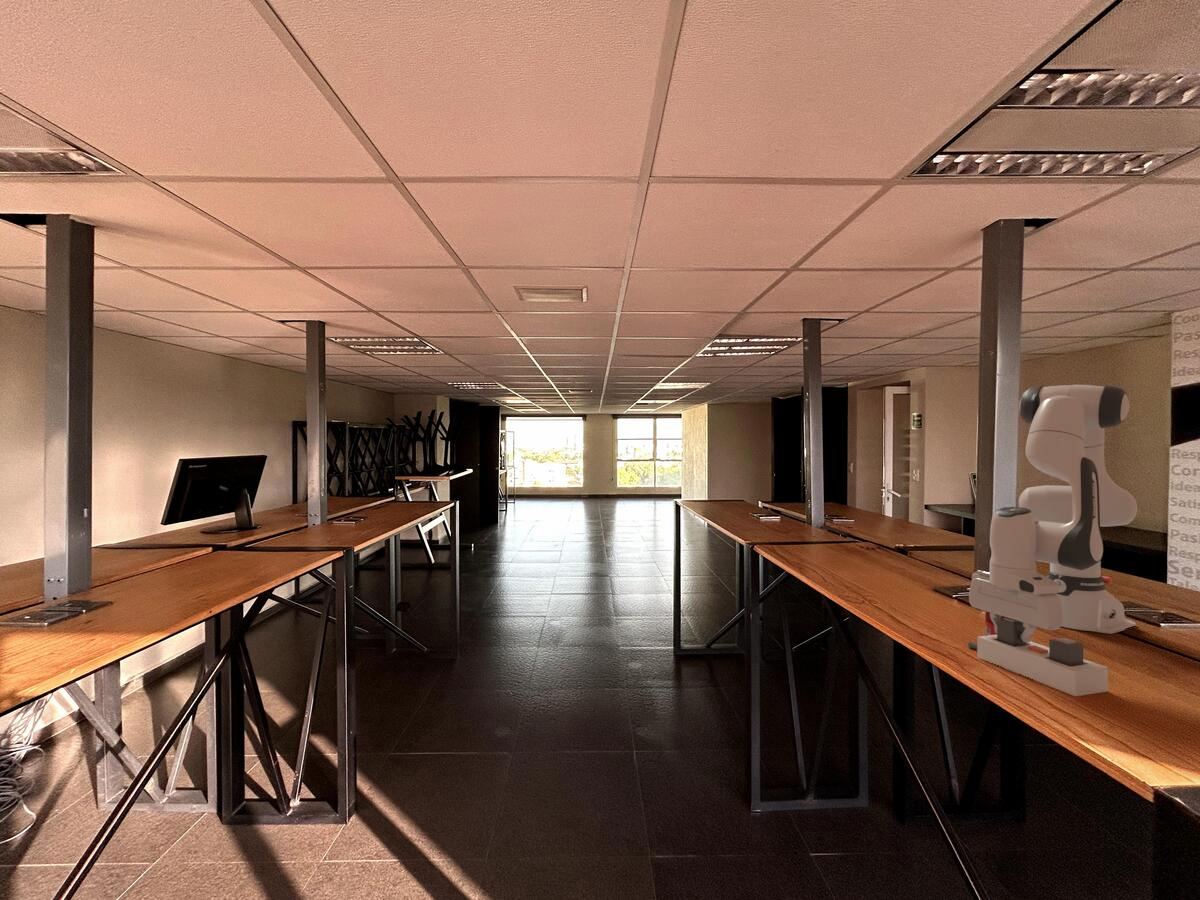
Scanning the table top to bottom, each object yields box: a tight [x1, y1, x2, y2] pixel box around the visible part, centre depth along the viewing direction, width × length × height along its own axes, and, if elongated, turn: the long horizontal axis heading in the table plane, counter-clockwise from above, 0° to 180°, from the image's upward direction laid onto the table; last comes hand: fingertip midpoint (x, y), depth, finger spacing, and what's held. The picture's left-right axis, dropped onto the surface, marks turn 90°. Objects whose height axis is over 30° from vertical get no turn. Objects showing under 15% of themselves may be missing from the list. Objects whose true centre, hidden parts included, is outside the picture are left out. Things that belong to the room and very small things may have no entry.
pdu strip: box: [967, 635, 1109, 697], centre depth 131 cm, size 9×28×9 cm, turn 15°
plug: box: [997, 617, 1027, 647], centre depth 133 cm, size 4×4×8 cm
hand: (1012, 637), depth 134 cm, fingers open, 5 cm apart
